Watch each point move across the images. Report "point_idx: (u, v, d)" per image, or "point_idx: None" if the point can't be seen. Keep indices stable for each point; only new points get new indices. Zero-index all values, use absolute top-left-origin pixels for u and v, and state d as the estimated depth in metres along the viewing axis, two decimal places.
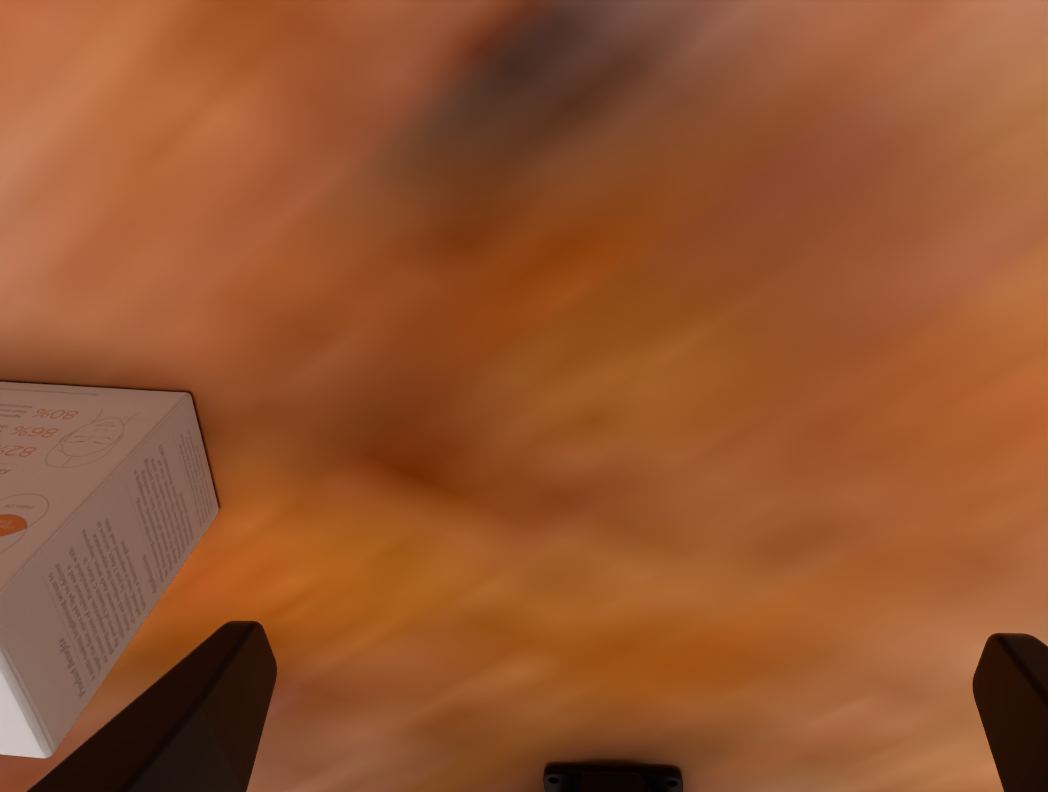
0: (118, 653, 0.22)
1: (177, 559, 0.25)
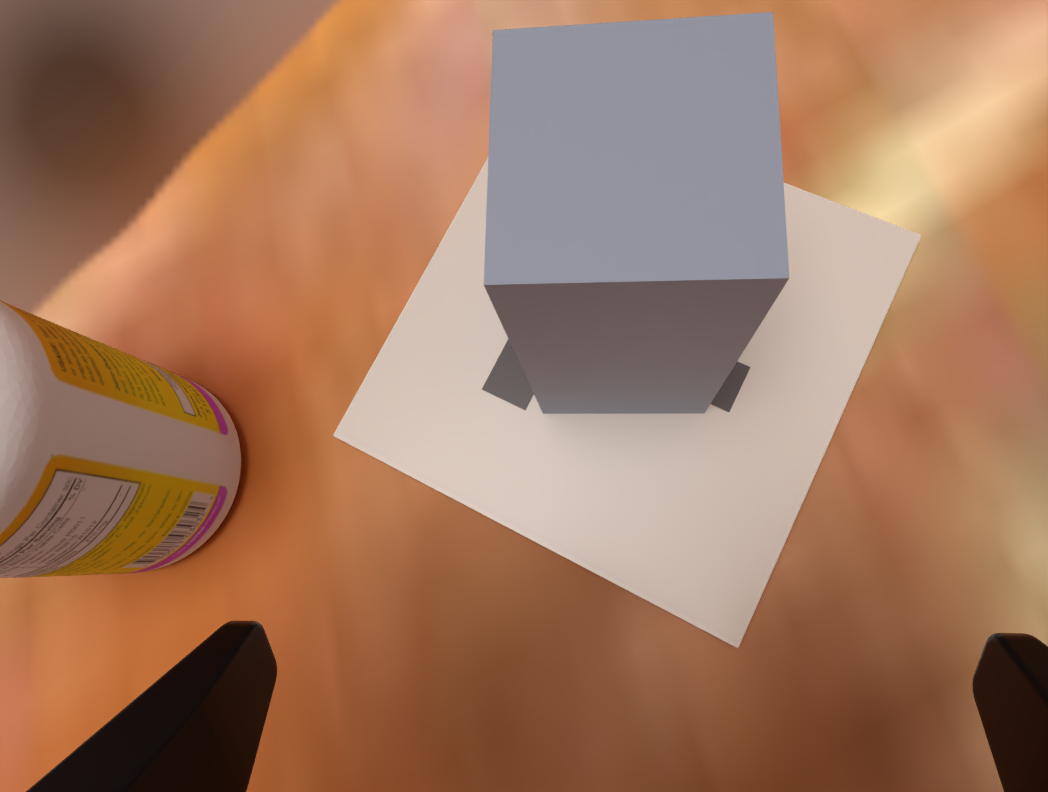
0: None
1: None
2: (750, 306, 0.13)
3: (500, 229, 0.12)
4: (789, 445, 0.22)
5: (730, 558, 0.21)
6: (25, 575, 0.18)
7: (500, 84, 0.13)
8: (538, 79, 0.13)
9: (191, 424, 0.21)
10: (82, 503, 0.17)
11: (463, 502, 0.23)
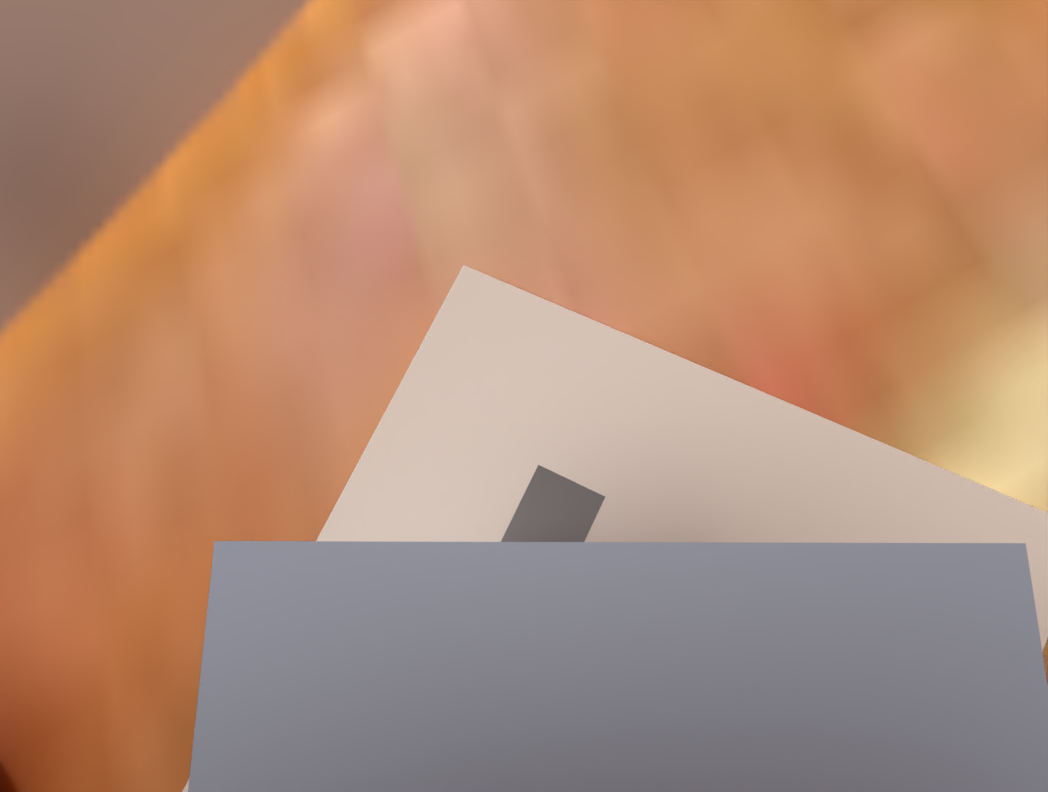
0: None
1: None
2: None
3: None
4: None
5: None
6: None
7: (220, 730, 0.04)
8: (328, 723, 0.04)
9: None
10: None
11: None
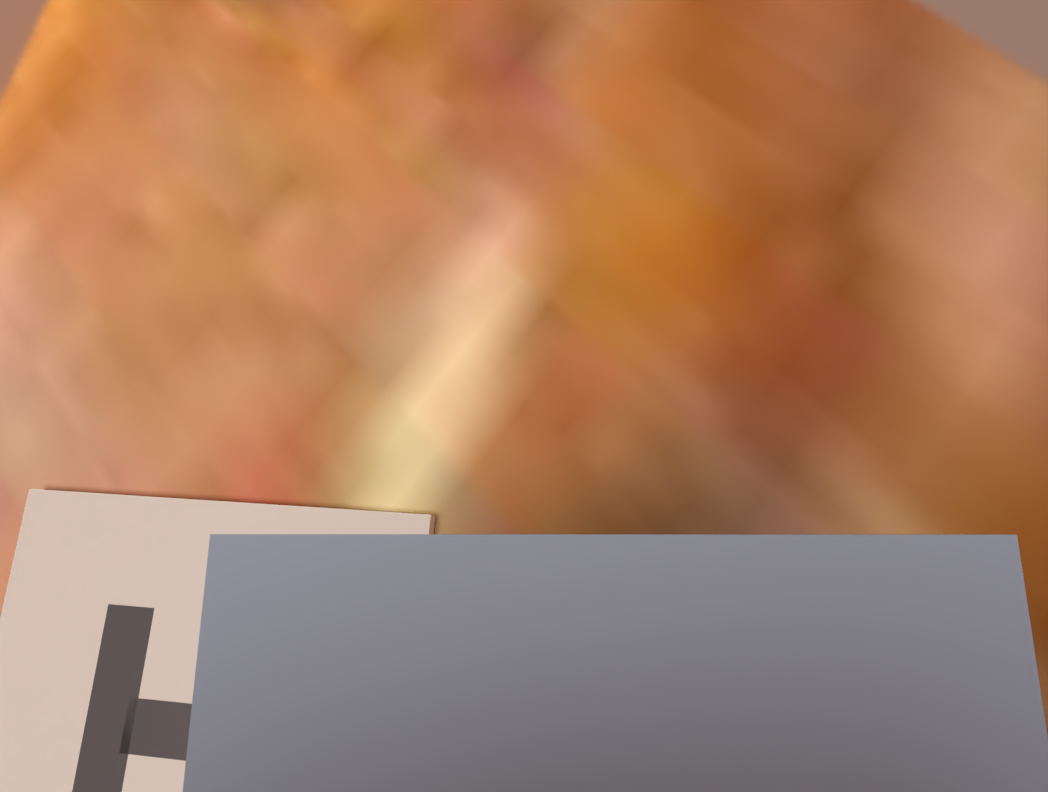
0: None
1: None
2: None
3: None
4: None
5: None
6: None
7: (216, 721, 0.05)
8: (323, 715, 0.04)
9: None
10: None
11: None
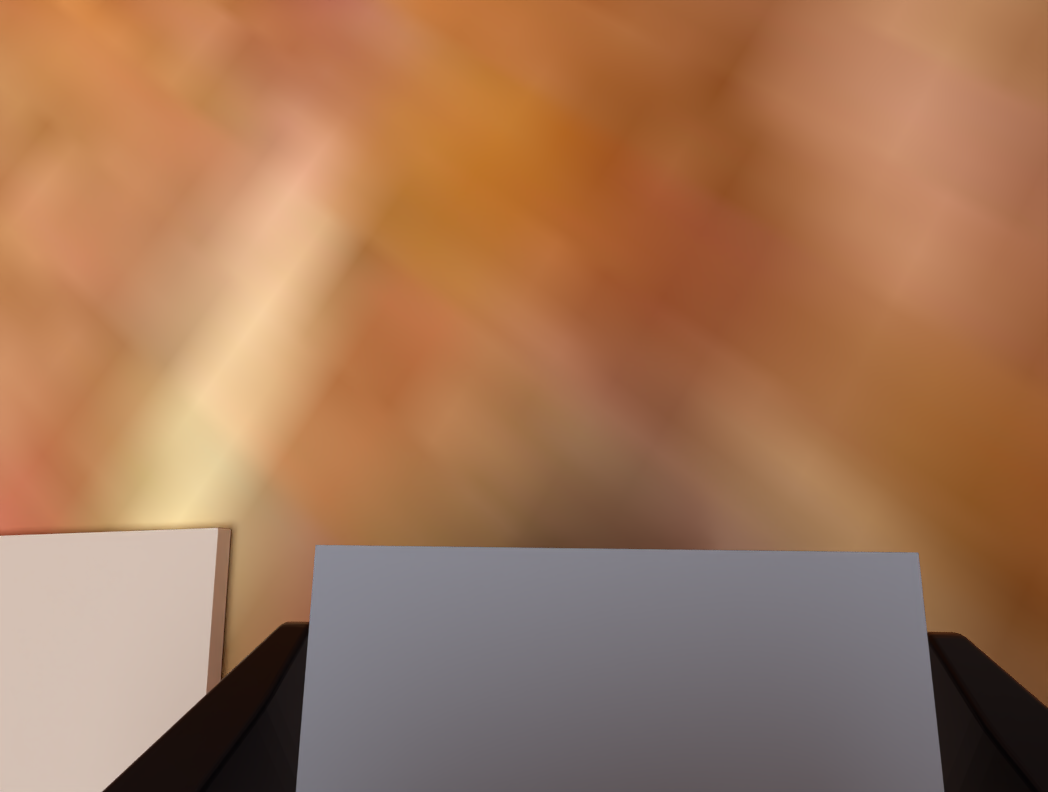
0: None
1: None
2: None
3: None
4: None
5: None
6: None
7: (324, 685, 0.06)
8: (405, 681, 0.06)
9: None
10: None
11: None
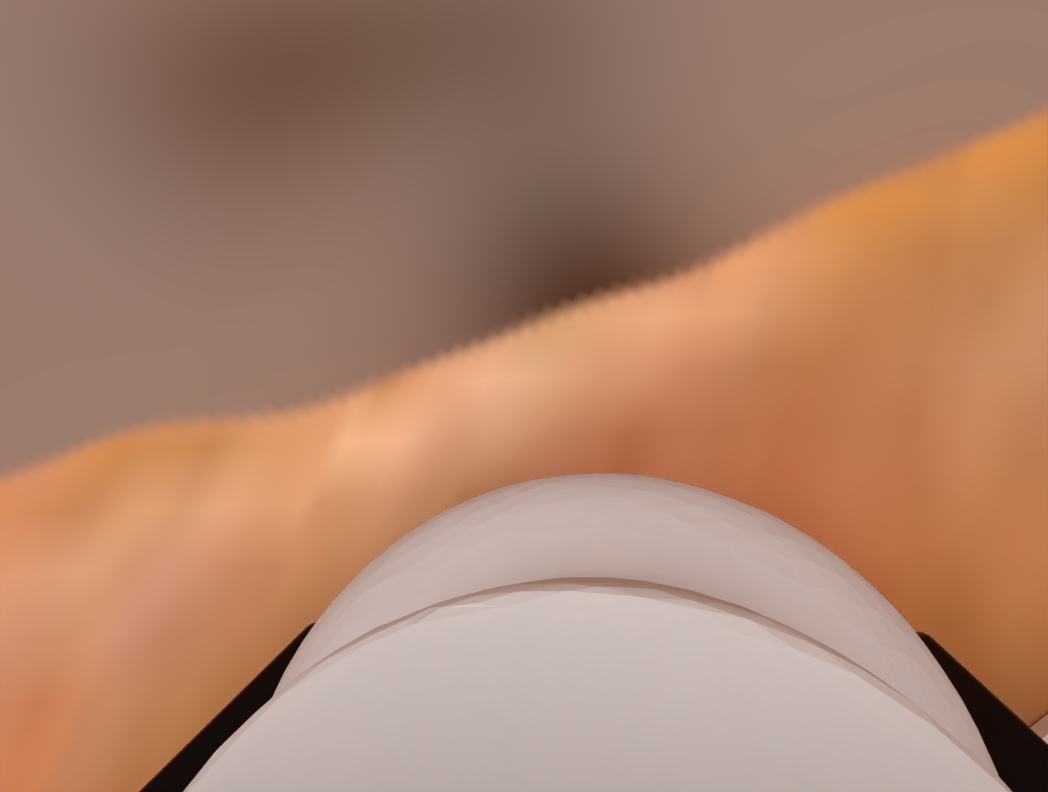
0: None
1: None
2: None
3: None
4: None
5: None
6: None
7: None
8: None
9: None
10: None
11: None
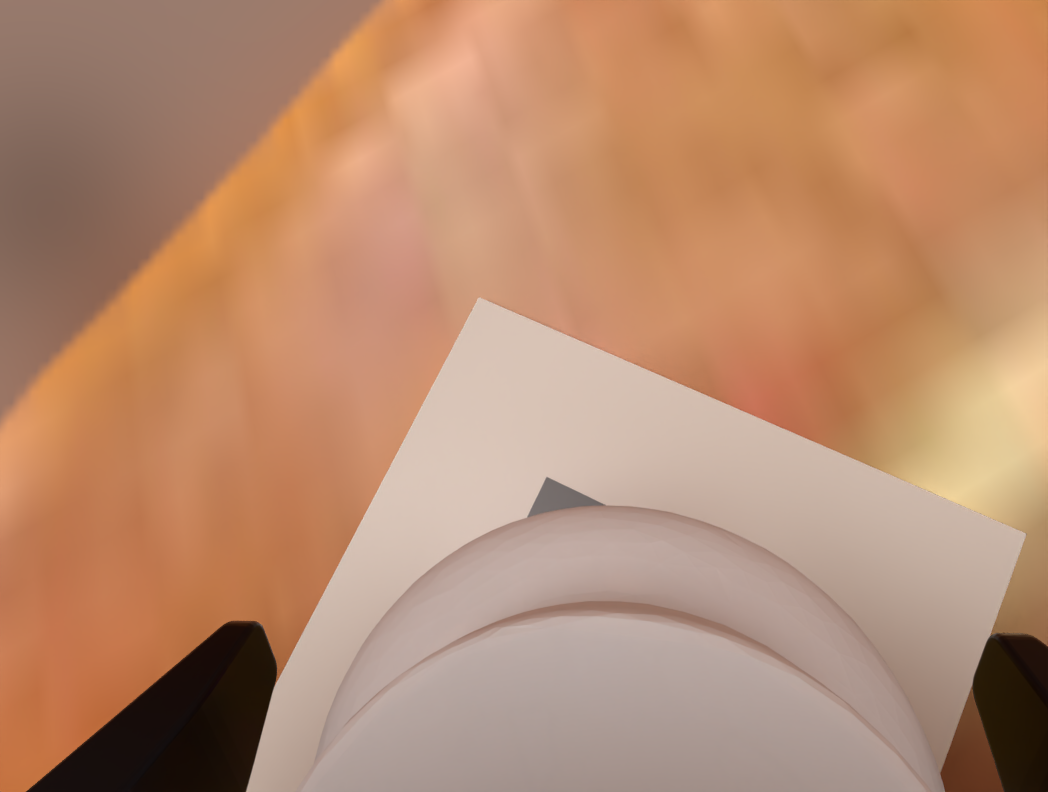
0: None
1: None
2: None
3: None
4: None
5: None
6: None
7: None
8: None
9: None
10: None
11: None
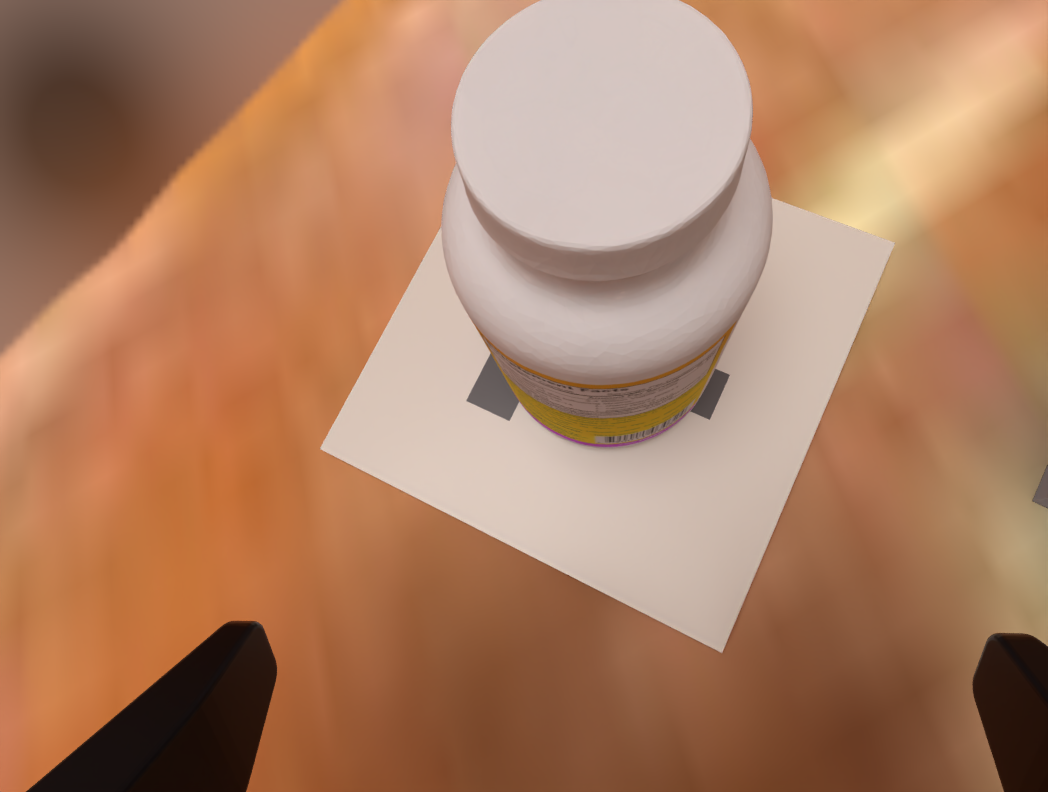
0: None
1: None
2: None
3: None
4: (769, 450, 0.22)
5: (713, 563, 0.22)
6: (567, 409, 0.17)
7: None
8: None
9: None
10: (693, 374, 0.16)
11: (449, 512, 0.23)
